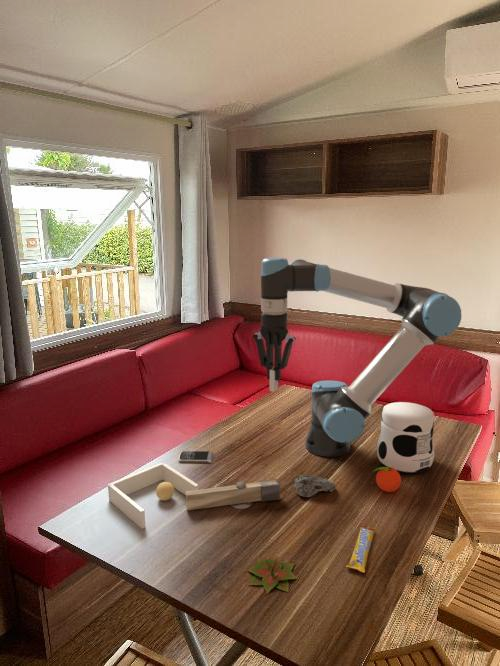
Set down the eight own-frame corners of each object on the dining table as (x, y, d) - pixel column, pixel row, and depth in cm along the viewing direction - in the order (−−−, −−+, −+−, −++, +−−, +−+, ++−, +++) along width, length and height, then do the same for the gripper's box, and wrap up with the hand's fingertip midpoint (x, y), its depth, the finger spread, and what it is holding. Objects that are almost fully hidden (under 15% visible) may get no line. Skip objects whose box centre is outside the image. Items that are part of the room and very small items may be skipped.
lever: (279, 499, 136) (279, 482, 135) (187, 511, 130) (186, 494, 129) (276, 492, 139) (276, 476, 138) (186, 504, 133) (185, 487, 132)
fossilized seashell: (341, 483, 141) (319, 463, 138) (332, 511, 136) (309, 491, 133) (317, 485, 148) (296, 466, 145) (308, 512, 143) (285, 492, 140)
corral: (198, 500, 136) (198, 484, 135) (142, 528, 124) (140, 511, 123) (163, 477, 149) (162, 462, 148) (109, 500, 137) (107, 484, 136)
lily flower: (302, 562, 113) (303, 545, 112) (294, 601, 101) (295, 583, 100) (252, 554, 116) (252, 537, 114) (238, 591, 104) (238, 573, 103)
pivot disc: (254, 498, 137) (254, 497, 137) (248, 510, 132) (248, 509, 132) (234, 495, 139) (234, 494, 139) (227, 507, 133) (227, 506, 133)
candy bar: (359, 528, 125) (359, 522, 124) (376, 532, 123) (376, 526, 123) (345, 572, 110) (345, 565, 109) (364, 577, 108) (364, 570, 108)
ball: (180, 491, 137) (170, 476, 137) (168, 501, 133) (157, 486, 133) (172, 495, 140) (162, 480, 140) (159, 506, 136) (149, 490, 137)
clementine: (370, 493, 139) (371, 471, 138) (373, 481, 146) (374, 459, 144) (399, 499, 137) (401, 476, 135) (401, 486, 143) (402, 464, 141)
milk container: (381, 447, 167) (385, 397, 162) (435, 457, 159) (440, 406, 155) (370, 470, 152) (373, 416, 147) (429, 483, 144) (434, 427, 140)
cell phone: (180, 454, 163) (180, 450, 163) (213, 455, 163) (213, 451, 163) (177, 464, 157) (177, 460, 157) (212, 464, 157) (212, 460, 157)
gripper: (247, 312, 140) (248, 390, 146) (290, 316, 135) (289, 397, 140) (259, 308, 147) (259, 382, 152) (300, 311, 141) (298, 389, 147)
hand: (273, 389), depth 146 cm, fingers closed
